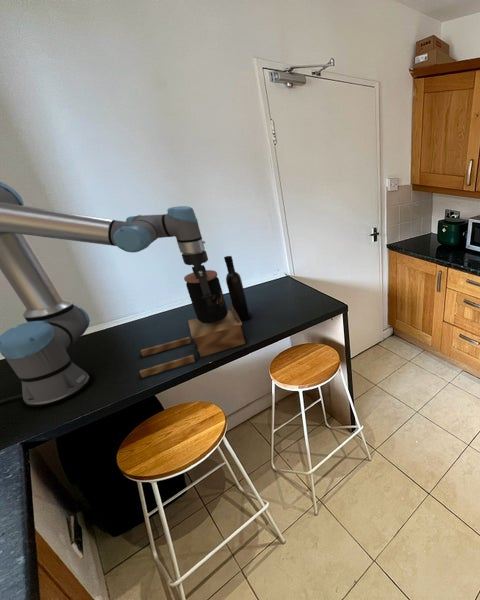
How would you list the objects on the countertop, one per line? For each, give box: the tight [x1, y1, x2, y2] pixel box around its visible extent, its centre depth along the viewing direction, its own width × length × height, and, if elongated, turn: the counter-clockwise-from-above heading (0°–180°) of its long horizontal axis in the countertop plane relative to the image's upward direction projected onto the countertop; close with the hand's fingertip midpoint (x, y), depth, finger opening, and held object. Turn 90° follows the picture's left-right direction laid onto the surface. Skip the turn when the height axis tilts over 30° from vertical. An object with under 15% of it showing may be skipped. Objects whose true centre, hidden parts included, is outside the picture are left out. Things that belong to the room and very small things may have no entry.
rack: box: [139, 304, 246, 379], centre depth 121 cm, size 34×16×12 cm, turn 126°
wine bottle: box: [223, 255, 251, 321], centre depth 140 cm, size 6×6×30 cm
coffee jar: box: [183, 269, 228, 324], centre depth 119 cm, size 11×11×18 cm
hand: (210, 306), depth 121 cm, fingers closed on coffee jar, 11 cm apart
